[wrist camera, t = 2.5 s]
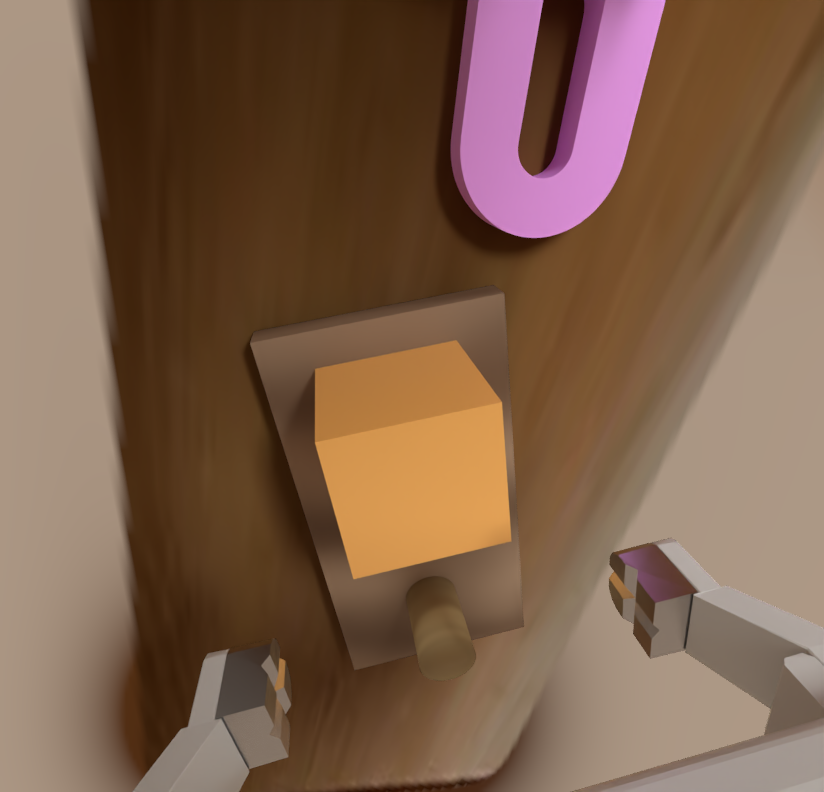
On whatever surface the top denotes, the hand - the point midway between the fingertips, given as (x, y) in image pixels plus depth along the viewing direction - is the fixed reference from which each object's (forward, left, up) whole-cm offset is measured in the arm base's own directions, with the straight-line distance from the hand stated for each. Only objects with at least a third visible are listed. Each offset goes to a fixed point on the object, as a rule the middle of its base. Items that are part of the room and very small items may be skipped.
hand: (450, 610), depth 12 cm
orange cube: (-1, 0, -9) cm, 9 cm away
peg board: (+4, 0, -10) cm, 11 cm away
